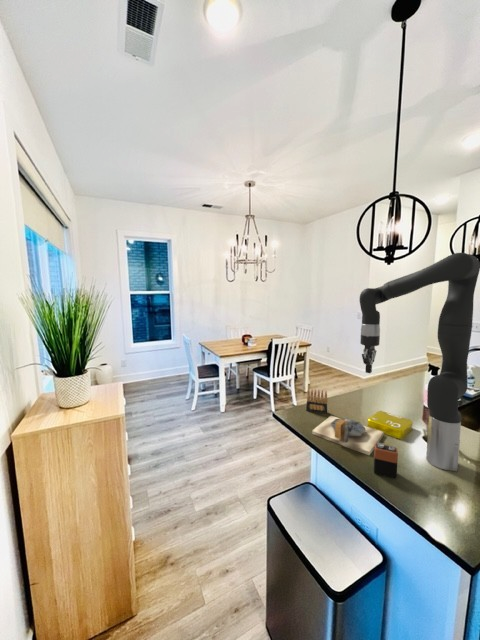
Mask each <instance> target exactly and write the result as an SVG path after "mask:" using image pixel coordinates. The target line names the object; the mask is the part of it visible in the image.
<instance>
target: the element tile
mask: <svg viewBox="0 0 480 640" xmlns="http://www.w3.org/2000/svg"><path fill="white" fill-rule="evenodd" d="M367 427H369V428H372V429H376V430H379V431H382V432H384V435H386V436H389V437H392V438H395V439H398V440H403V439H405V438H406V437H407V436H408V435H409V433H410V432H411V431H412V430H413V420H412V419H409V418H406V417H402V416H400V415H396V414H393V413H389V412H386V411H383V410H378V411H377V412H375V413H374V414H372V415H371V416H370V417H368V418H367Z"/></svg>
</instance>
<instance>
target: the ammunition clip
mask: <svg viewBox="0 0 480 640" xmlns="http://www.w3.org/2000/svg"><path fill="white" fill-rule="evenodd" d="M305 409H306V412H312V413H319V414H328V393H327V390H325V391H324V390H321V392H320V389H318V390H316V389H314V390H313V388H311V391H310V388H307V393H306V407H305Z"/></svg>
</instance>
